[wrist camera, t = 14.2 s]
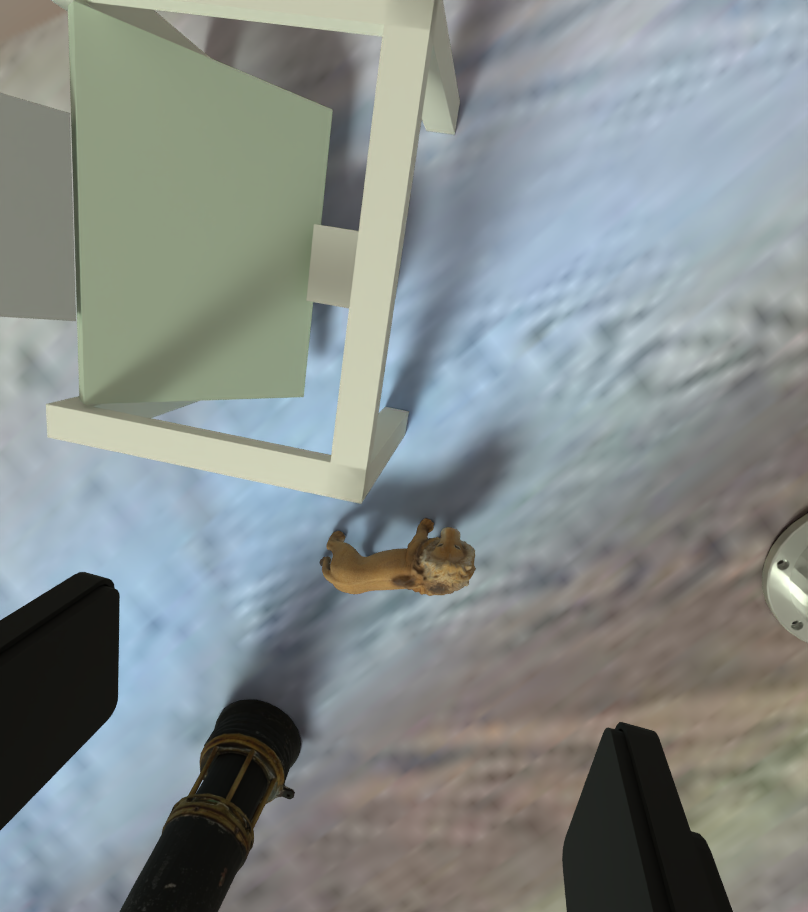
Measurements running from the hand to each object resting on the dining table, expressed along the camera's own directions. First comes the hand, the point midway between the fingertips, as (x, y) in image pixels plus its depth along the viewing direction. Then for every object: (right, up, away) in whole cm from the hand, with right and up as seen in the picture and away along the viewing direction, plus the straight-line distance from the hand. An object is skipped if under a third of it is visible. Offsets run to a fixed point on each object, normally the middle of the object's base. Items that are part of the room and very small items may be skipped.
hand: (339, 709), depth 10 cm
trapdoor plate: (-18, +18, +21) cm, 34 cm away
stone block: (-5, +19, +29) cm, 35 cm away
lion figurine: (+1, -2, +37) cm, 37 cm away
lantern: (-14, -24, +46) cm, 54 cm away
